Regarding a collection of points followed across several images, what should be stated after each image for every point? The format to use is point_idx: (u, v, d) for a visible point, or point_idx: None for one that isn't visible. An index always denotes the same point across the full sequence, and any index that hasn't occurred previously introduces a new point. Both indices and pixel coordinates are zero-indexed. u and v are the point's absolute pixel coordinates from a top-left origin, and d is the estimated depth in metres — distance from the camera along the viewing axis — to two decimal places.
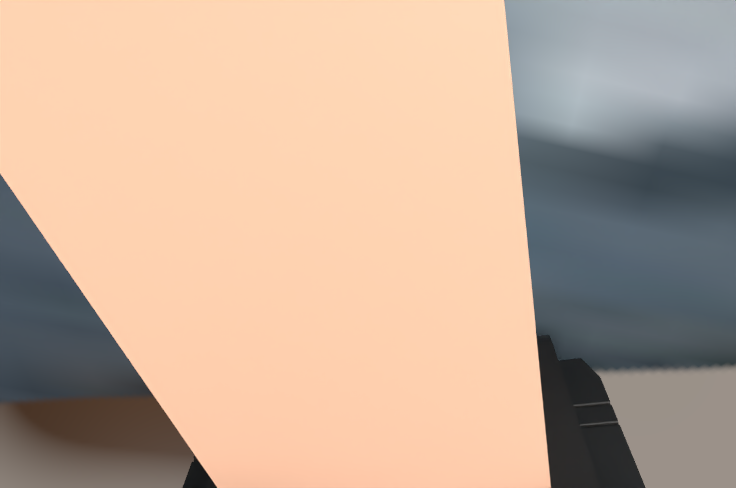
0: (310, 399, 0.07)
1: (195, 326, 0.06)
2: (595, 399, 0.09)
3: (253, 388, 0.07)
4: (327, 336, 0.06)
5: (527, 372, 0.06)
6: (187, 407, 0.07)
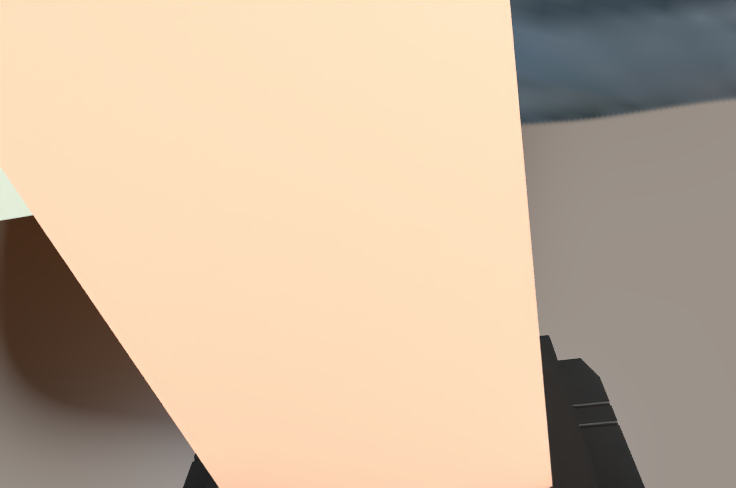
0: (314, 400, 0.07)
1: (199, 327, 0.06)
2: (594, 399, 0.09)
3: (256, 390, 0.07)
4: (331, 337, 0.06)
5: (530, 373, 0.06)
6: (190, 408, 0.07)
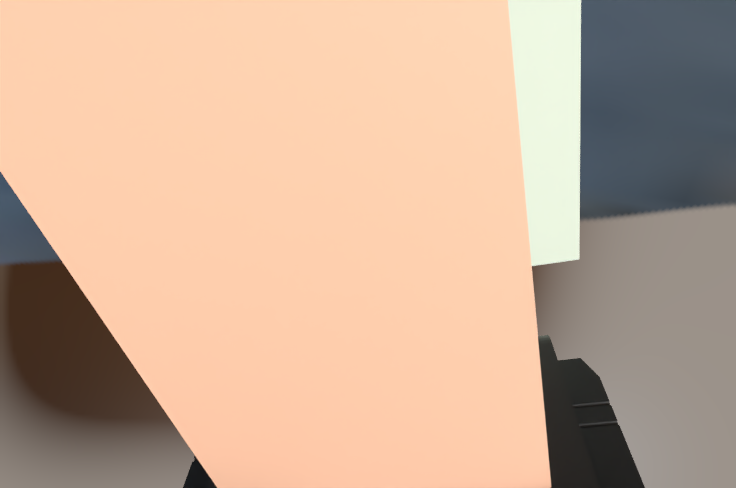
0: (314, 403, 0.07)
1: (199, 330, 0.06)
2: (594, 399, 0.09)
3: (256, 393, 0.07)
4: (331, 340, 0.06)
5: (529, 377, 0.06)
6: (190, 411, 0.07)
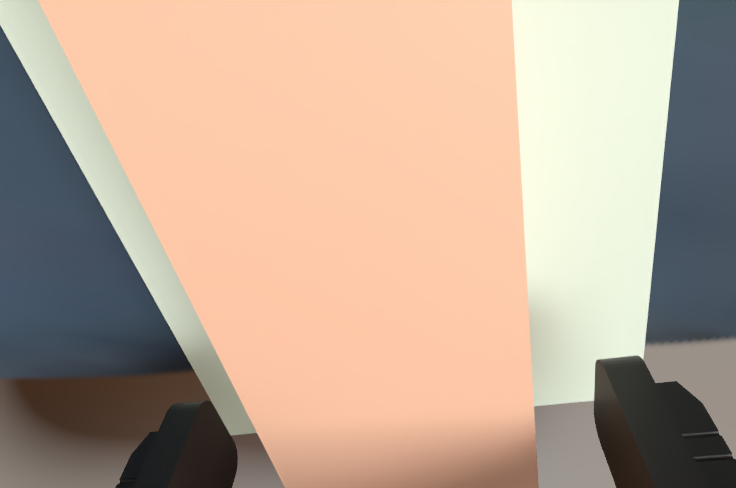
0: (336, 329, 0.08)
1: (246, 261, 0.08)
2: (701, 428, 0.08)
3: (289, 319, 0.08)
4: (355, 272, 0.08)
5: (518, 308, 0.08)
6: (229, 336, 0.08)
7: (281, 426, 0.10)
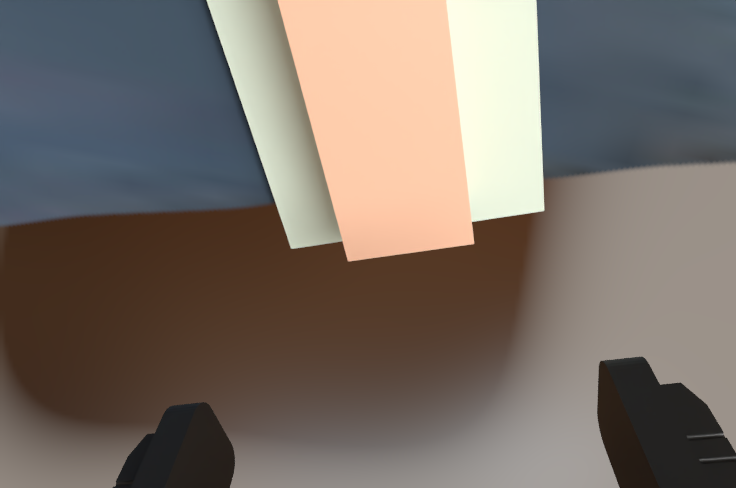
0: (369, 109, 0.18)
1: (330, 70, 0.17)
2: (706, 430, 0.08)
3: (347, 103, 0.18)
4: (379, 75, 0.17)
5: (452, 94, 0.17)
6: (318, 115, 0.18)
7: (339, 175, 0.19)
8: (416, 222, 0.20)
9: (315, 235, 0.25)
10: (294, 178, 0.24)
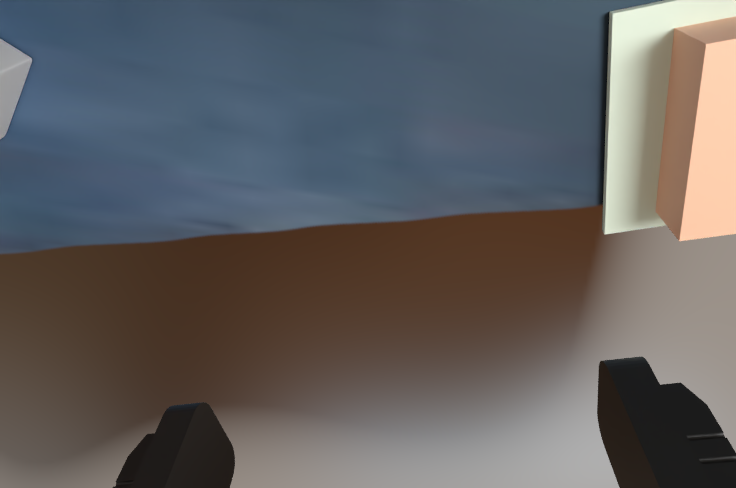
0: (726, 156, 0.32)
1: (713, 136, 0.31)
2: (706, 430, 0.08)
3: (715, 153, 0.32)
4: None
5: None
6: (696, 159, 0.32)
7: (694, 191, 0.33)
8: (730, 217, 0.34)
9: (623, 225, 0.40)
10: (623, 190, 0.38)
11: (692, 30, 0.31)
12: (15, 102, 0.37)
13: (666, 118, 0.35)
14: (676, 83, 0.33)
